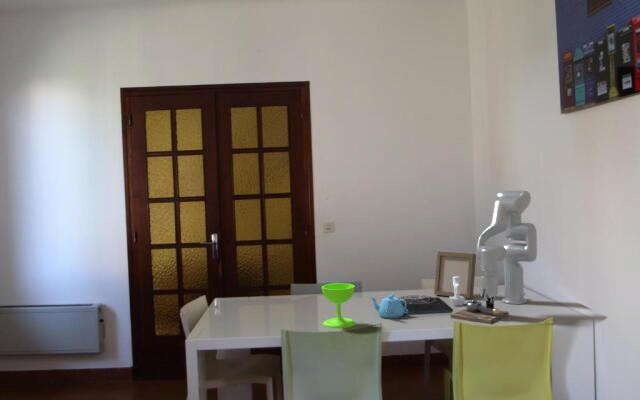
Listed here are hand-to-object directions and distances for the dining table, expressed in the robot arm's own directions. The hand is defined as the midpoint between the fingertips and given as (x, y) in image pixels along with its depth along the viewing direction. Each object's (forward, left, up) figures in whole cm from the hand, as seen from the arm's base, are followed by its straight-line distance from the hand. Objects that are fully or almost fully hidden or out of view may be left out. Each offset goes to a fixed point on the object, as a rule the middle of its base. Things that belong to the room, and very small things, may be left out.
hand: (490, 310), depth 273 cm
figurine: (-13, -25, -3) cm, 28 cm away
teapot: (+27, -41, -3) cm, 49 cm away
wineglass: (+53, -52, -3) cm, 74 cm away
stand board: (+3, -4, -3) cm, 6 cm away
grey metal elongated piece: (+3, -2, -1) cm, 4 cm away
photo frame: (-34, -36, -3) cm, 49 cm away
